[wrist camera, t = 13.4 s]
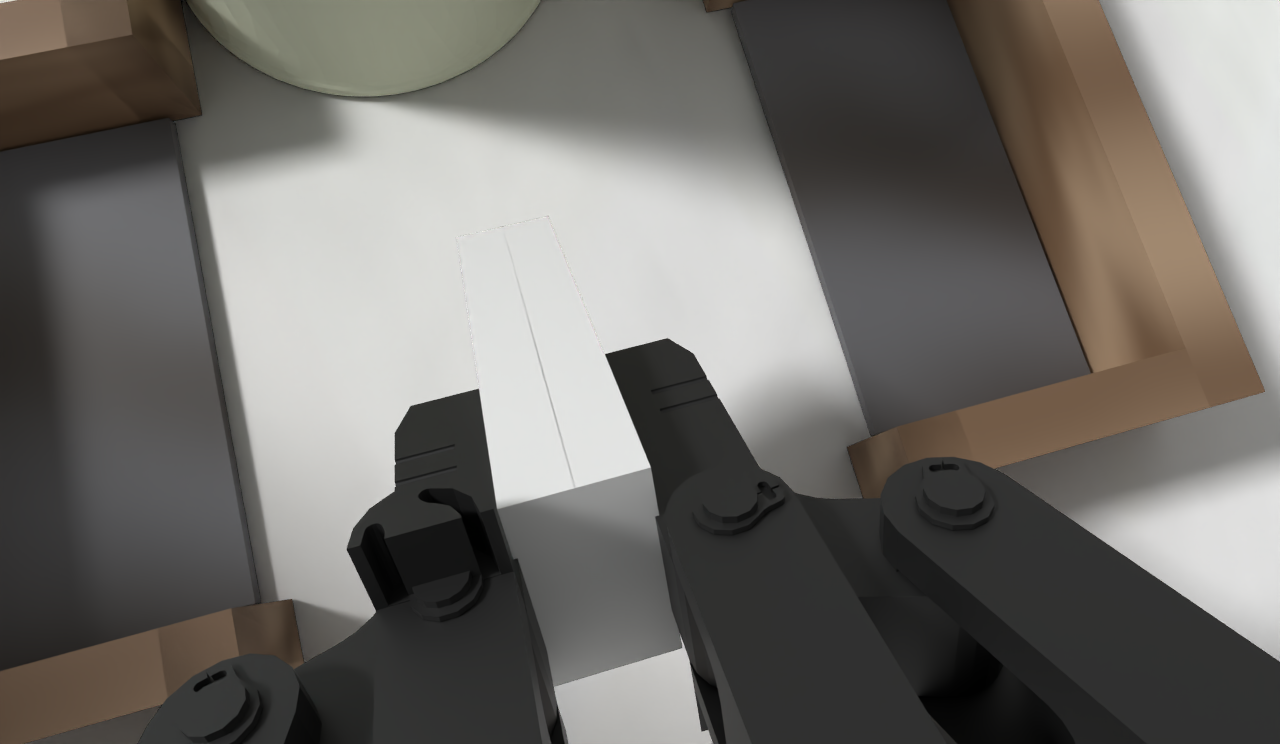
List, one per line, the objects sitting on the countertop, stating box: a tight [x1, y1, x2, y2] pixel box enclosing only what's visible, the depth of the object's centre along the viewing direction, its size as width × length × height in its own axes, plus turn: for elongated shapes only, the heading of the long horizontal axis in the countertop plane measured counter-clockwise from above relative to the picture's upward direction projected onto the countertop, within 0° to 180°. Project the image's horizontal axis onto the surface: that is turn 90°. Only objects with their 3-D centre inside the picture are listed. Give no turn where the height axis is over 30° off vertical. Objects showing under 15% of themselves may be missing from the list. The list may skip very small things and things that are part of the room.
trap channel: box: [0, 0, 1265, 744], centre depth 16 cm, size 35×26×6 cm
